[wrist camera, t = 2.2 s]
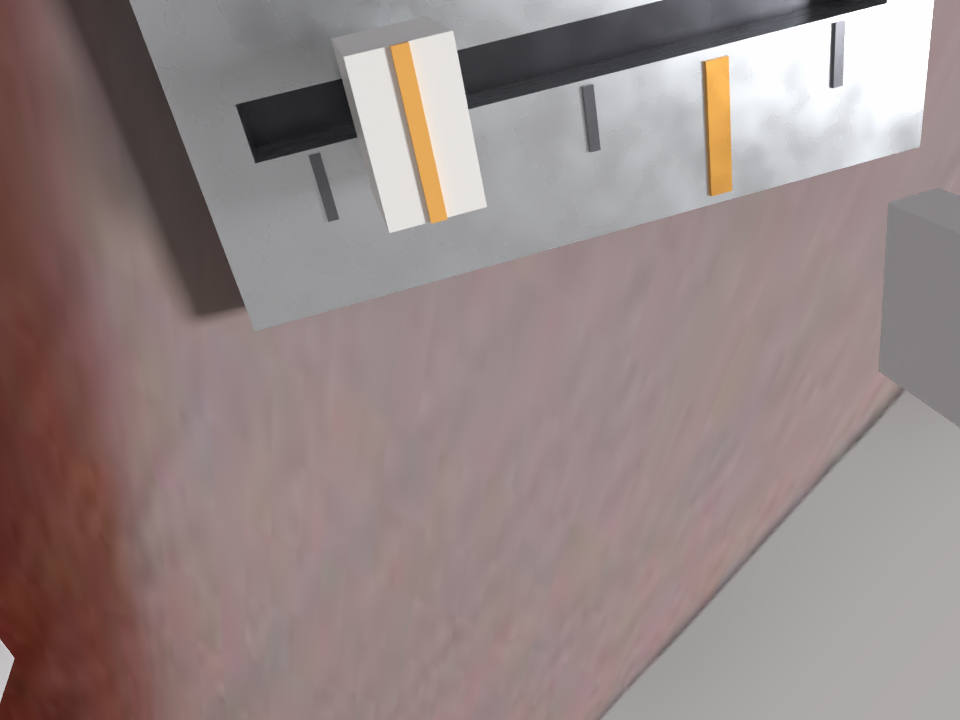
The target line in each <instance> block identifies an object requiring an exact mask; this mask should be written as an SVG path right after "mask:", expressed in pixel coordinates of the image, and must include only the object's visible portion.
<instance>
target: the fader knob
mask: <svg viewBox="0 0 960 720" xmlns="http://www.w3.org/2000/svg"><path fill="white" fill-rule="evenodd" d="M331 40H332V43H333V47H334V51H335V55H336V58H337V62H338V66H339V70H340V73H341V77H342V81H343V85H344V88H345V92H346V96H347V100H348V104H349V107H350V111H351V115H352V119H353V122H354V126H355V130H356V134H357V137H358V141H359V145H360V149H361V152H362V156H363V160H364V164H365V167H366V171H367V175H368V179H369V182H370V186H371V190H372V194H373V196H374V198H375V201H376V203H377V205H378V208H379V210H380V212H381V215H382V217H383V219H384V222H385V224H386V226H387V229H388V231H389V233H392V232H396V231H399V230H403V229H407V228H411V227H414V226H418V225H422V224H426V223H429V222H431V224H432V223H436V222H440V221H444V220H447V219H448V217H452V216H455V215H459V214H463V213H466V212H470V211H474V210H478V209H481V208H485V207H487V204H486V199H485V194H484V188H483V183H482V178H481V173H480V168H479V162H478V157H477V152H476V147H475V141H474V136H473V131H472V126H471V121H470V115H469V110H468V105H467V100H466V95H465V89H464V84H463V79H462V74H461V68H460V63H459V58H458V53H457V48H456V42H455V37H454V32H453V30H451V29H450V28H448V27H446V26H444V25H442V24H440V23H438V22H437V21H435V20H433V19H431V18H429V17H427V16H424V17H419V18H415V19H411V20H407V21H403V22H398V23H394V24H390V25H386V26H382V27H377V28H373V29H369V30H365V31H361V32H356V33H352V34H348V35H344V36H340V37H335V38H331Z"/></svg>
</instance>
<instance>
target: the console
mask: <svg viewBox="0 0 960 720" xmlns="http://www.w3.org/2000/svg"><path fill="white" fill-rule="evenodd" d="M129 1H130V3H131V6H132V9H133V11H134V14H135V17H136V19H137V22H138V24H139V27H140V30H141V32H142V35H143V38H144V40H145V43H146V46H147V48H148V51H149V53H150V56H151V59H152V61H153V64H154V67H155V69H156V72H157V75H158V77H159V80H160V82H161V85H162V88H163V90H164V93H165V96H166V98H167V101H168V104H169V106H170V109H171V111H172V114H173V117H174V119H175V122H176V125H177V127H178V130H179V133H180V135H181V138H182V141H183V143H184V146H185V148H186V151H187V154H188V156H189V159H190V162H191V164H192V167H193V170H194V172H195V175H196V177H197V180H198V183H199V185H200V188H201V191H202V193H203V196H204V199H205V201H206V204H207V206H208V209H209V212H210V214H211V217H212V220H213V222H214V225H215V228H216V230H217V233H218V236H219V238H220V241H221V243H222V246H223V249H224V251H225V254H226V257H227V259H228V262H229V265H230V267H231V270H232V272H233V275H234V278H235V280H236V283H237V286H238V288H239V291H240V294H241V296H242V299H243V301H244V304H245V307H246V309H247V312H248V315H249V317H250V320H251V323H252V325H253V328H254V330H255V331H258V330H261V329H265V328H269V327H272V326H276V325H279V324H283V323H287V322H290V321H294V320H297V319H301V318H305V317H308V316H312V315H315V314H319V313H323V312H326V311H330V310H333V309H337V308H341V307H344V306H348V305H351V304H355V303H359V302H362V301H366V300H369V299H373V298H377V297H380V296H384V295H387V294H391V293H395V292H398V291H402V290H405V289H409V288H413V287H416V286H420V285H423V284H427V283H431V282H434V281H438V280H441V279H445V278H449V277H452V276H456V275H459V274H463V273H467V272H470V271H474V270H477V269H481V268H485V267H488V266H492V265H495V264H499V263H503V262H506V261H510V260H513V259H517V258H521V257H524V256H528V255H531V254H535V253H539V252H542V251H546V250H549V249H553V248H557V247H560V246H564V245H567V244H571V243H575V242H578V241H582V240H585V239H589V238H593V237H596V236H600V235H603V234H607V233H611V232H614V231H618V230H621V229H625V228H629V227H632V226H636V225H639V224H643V223H647V222H650V221H654V220H657V219H661V218H665V217H668V216H672V215H675V214H679V213H683V212H686V211H690V210H693V209H697V208H701V207H704V206H708V205H711V204H715V203H719V202H722V201H726V200H729V199H733V198H737V197H740V196H744V195H747V194H751V193H755V192H758V191H762V190H765V189H769V188H773V187H776V186H780V185H783V184H787V183H791V182H794V181H798V180H801V179H805V178H809V177H812V176H816V175H819V174H823V173H827V172H830V171H834V170H837V169H841V168H845V167H848V166H852V165H855V164H859V163H863V162H866V161H870V160H873V159H877V158H881V157H884V156H888V155H891V154H895V153H899V152H902V151H906V150H909V149H913V148H917V147H920V139H921V128H922V118H923V107H924V97H925V86H926V76H927V65H928V55H929V44H930V33H931V23H932V12H933V2H934V0H129ZM424 16H427V17H429V18H431V19H433V20H435V21H437V22H438V23H440V24H442V25H444V26H446V27H448V28H450V29H451V30H453V32H454V37H455V42H456V48H457V53H458V58H459V63H460V68H461V74H462V79H463V84H464V89H465V95H466V100H467V105H468V110H469V115H470V121H471V126H472V131H473V136H474V141H475V147H476V152H477V157H478V162H479V168H480V173H481V178H482V183H483V188H484V194H485V199H486V204H487V207H485V208H481V209H478V210H474V211H470V212H466V213H463V214H459V215H455V216H452V217H448V219H447V220H444V221H440V222H436V223H432V224H431V222H429V223H426V224H422V225H418V226H414V227H411V228H407V229H403V230H399V231H396V232H392V233H389V231H388V229H387V226H386V224H385V222H384V219H383V217H382V215H381V212H380V210H379V208H378V205H377V203H376V201H375V198H374V196H373V194H372V190H371V186H370V182H369V179H368V175H367V171H366V167H365V164H364V160H363V156H362V152H361V149H360V145H359V141H358V137H357V134H356V130H355V126H354V122H353V119H352V115H351V111H350V107H349V104H348V100H347V96H346V92H345V88H344V85H343V81H342V77H341V73H340V70H339V66H338V62H337V58H336V55H335V51H334V47H333V43H332V40H331V38H335V37H340V36H344V35H348V34H352V33H356V32H361V31H365V30H369V29H373V28H377V27H382V26H386V25H390V24H394V23H398V22H403V21H407V20H411V19H415V18H419V17H424Z"/></svg>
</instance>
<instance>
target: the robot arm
mask: <svg viewBox="0 0 960 720" xmlns="http://www.w3.org/2000/svg"><path fill="white" fill-rule="evenodd" d="M879 372H881V373H882V374H884V375H885V376H887V377H888V378H889V379H891V380H892V381H894V382H895V383H897V384H898V385H899V386H901V387H902V388H904V389H905V390H907V391H908V392H909V393H911V394H912V395H914V396H915V397H917V398H918V399H920V400H921V401H922V402H924V403H925V404H927V405H928V406H930V407H931V408H932V409H934V410H935V411H937V412H938V413H940V414H941V415H943V416H944V417H945V418H947V419H948V420H950V421H951V422H953V423H954V424H955V425H957V426H958V427H960V196H958V195H956V194H953V193H950V192H948V191H945V190H942V189H939V188H936V189H932V190H929V191H926V192H922V193H919V194H916V195H913V196H909V197H906V198H903V199H900V200H896V201H893V202H890V203H888V215H887V233H886V250H885V268H884V285H883V303H882V321H881V338H880V356H879ZM13 661H14V657H13V656H12V654H11V653H10V652H9V650H8V649H7V648H6V646H5V645H4V644H3V642H2V641H1V640H0V701H1V698H2V695H3V692H4V689H5V686H6V683H7V680H8V677H9V673H10V670H11V667H12V664H13Z"/></svg>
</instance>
